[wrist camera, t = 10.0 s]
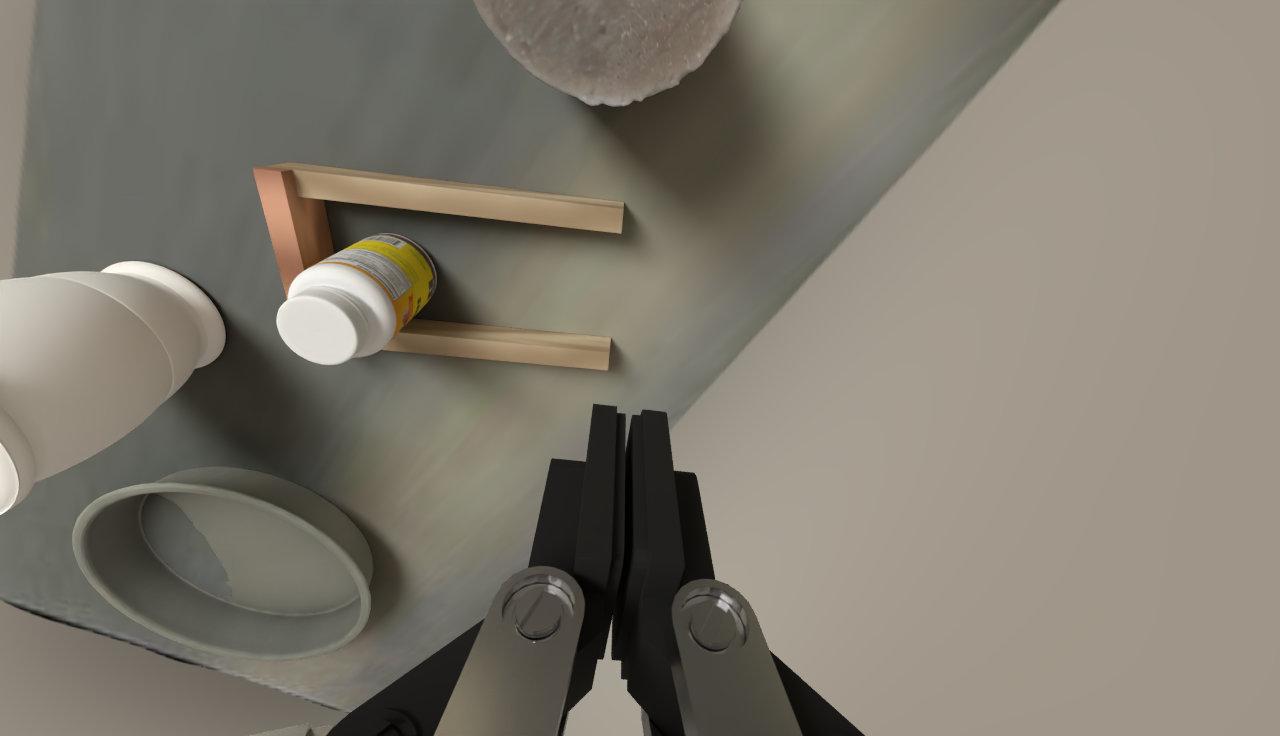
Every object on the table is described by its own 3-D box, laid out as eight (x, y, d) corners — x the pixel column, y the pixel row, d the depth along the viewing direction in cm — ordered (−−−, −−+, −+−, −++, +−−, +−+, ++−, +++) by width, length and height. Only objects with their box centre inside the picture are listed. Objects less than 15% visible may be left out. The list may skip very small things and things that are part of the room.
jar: (131, 212, 30) (-246, 289, 17) (273, 329, 35) (57, 462, 21) (53, 302, 33) (-322, 427, 20) (193, 400, 37) (-41, 555, 24)
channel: (292, 162, 29) (252, 168, 26) (623, 202, 31) (623, 212, 28) (329, 328, 35) (300, 349, 32) (609, 354, 36) (607, 377, 33)
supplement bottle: (399, 320, 34) (322, 395, 26) (340, 257, 32) (232, 316, 23) (457, 283, 33) (396, 348, 24) (399, 214, 31) (309, 259, 22)
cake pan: (174, 399, 38) (121, 433, 34) (437, 541, 46) (419, 581, 42) (84, 551, 46) (33, 592, 42) (322, 647, 55) (298, 689, 51)
